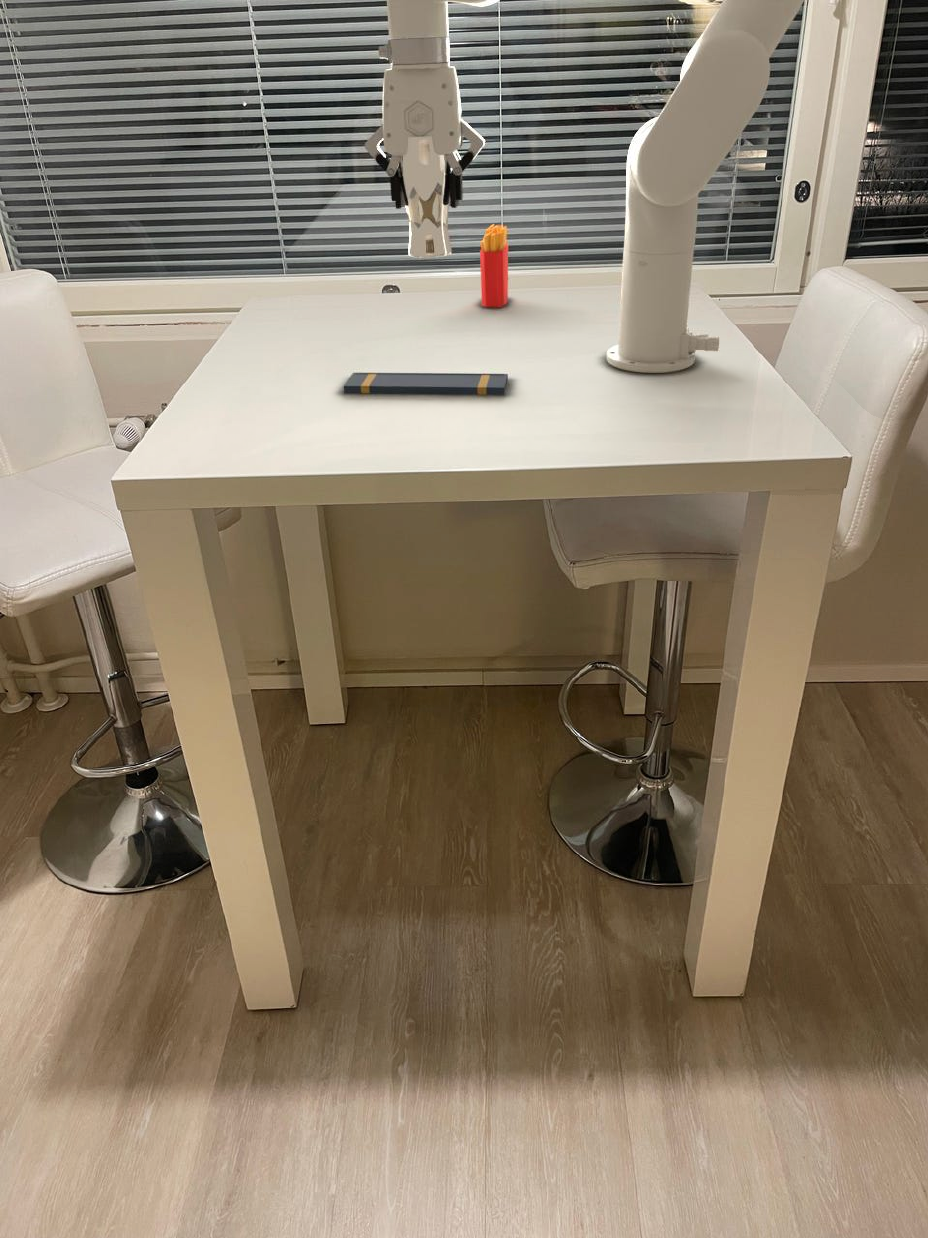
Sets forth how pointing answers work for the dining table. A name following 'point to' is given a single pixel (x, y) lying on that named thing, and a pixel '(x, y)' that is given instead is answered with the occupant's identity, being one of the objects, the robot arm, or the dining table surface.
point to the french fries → (494, 267)
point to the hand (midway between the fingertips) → (427, 205)
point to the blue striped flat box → (427, 383)
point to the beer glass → (426, 198)
